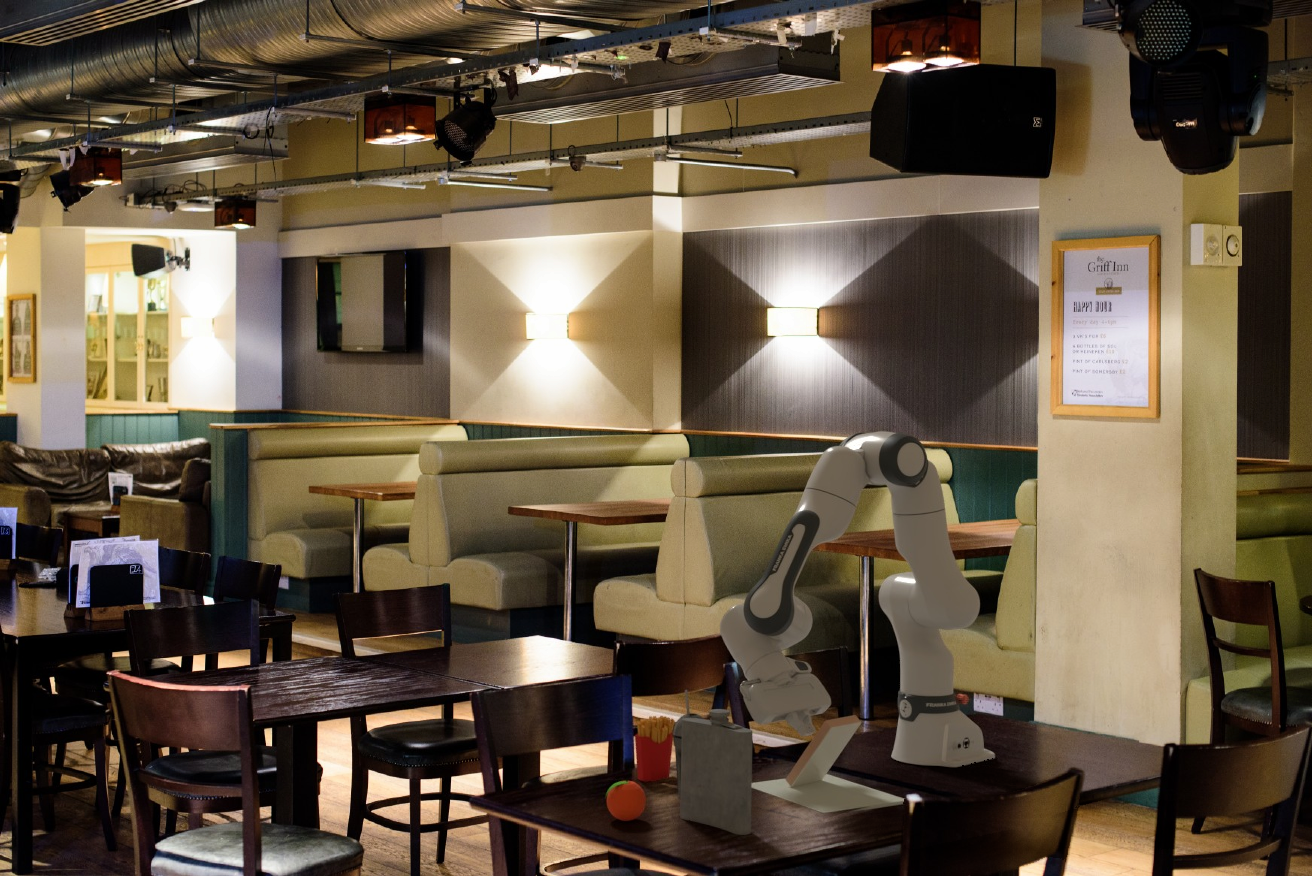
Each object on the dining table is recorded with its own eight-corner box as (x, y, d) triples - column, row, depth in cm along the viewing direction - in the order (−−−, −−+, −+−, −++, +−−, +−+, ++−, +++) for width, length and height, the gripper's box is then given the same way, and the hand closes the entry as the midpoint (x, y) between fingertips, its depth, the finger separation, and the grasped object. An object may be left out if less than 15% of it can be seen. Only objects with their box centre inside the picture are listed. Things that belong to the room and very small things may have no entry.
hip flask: (676, 817, 272) (678, 704, 272) (693, 813, 275) (694, 702, 275) (741, 835, 261) (743, 718, 261) (758, 831, 264) (760, 715, 264)
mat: (824, 776, 307) (824, 773, 307) (908, 803, 285) (908, 799, 285) (742, 787, 296) (742, 784, 296) (823, 816, 275) (823, 812, 275)
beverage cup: (706, 802, 284) (708, 694, 283) (667, 799, 285) (669, 692, 285) (712, 793, 291) (714, 687, 291) (675, 790, 292) (676, 686, 292)
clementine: (616, 828, 264) (616, 787, 264) (593, 819, 270) (594, 779, 270) (653, 821, 269) (654, 781, 269) (630, 813, 275) (631, 773, 275)
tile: (785, 779, 295) (825, 720, 288) (815, 772, 302) (855, 714, 295) (791, 787, 294) (831, 728, 287) (821, 780, 300) (861, 722, 293)
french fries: (642, 782, 298) (643, 721, 298) (631, 778, 302) (632, 717, 302) (677, 777, 303) (678, 716, 303) (665, 773, 307) (666, 713, 306)
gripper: (744, 672, 295) (782, 730, 288) (813, 662, 309) (851, 717, 302) (727, 692, 298) (764, 750, 291) (796, 681, 313) (833, 736, 306)
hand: (809, 733), depth 297 cm, fingers closed
